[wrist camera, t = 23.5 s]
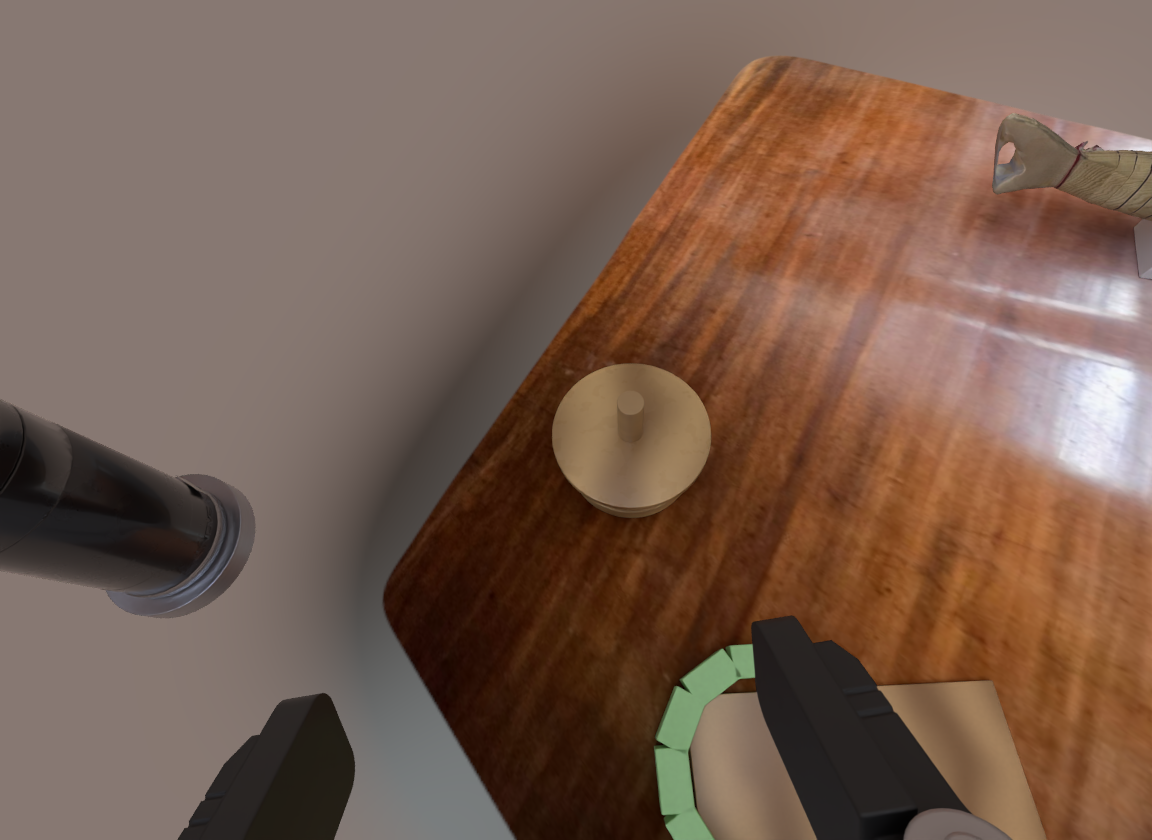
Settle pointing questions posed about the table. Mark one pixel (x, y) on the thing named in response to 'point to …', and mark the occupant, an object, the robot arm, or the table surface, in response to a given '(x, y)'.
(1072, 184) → the wood carving
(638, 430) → the stand
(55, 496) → the robot arm
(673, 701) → the ring
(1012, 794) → the mat
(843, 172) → the table surface
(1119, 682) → the table surface
